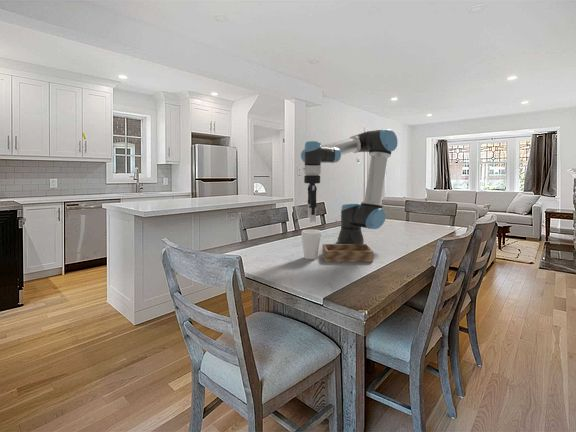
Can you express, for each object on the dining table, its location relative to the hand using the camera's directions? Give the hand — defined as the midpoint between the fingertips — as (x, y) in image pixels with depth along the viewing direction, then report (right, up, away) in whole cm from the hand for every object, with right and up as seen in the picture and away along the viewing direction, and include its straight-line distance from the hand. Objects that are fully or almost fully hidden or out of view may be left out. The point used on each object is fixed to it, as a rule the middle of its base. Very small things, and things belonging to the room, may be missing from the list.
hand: (311, 219), depth 160 cm
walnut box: (+17, -19, +3) cm, 26 cm away
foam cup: (0, -19, +3) cm, 19 cm away
